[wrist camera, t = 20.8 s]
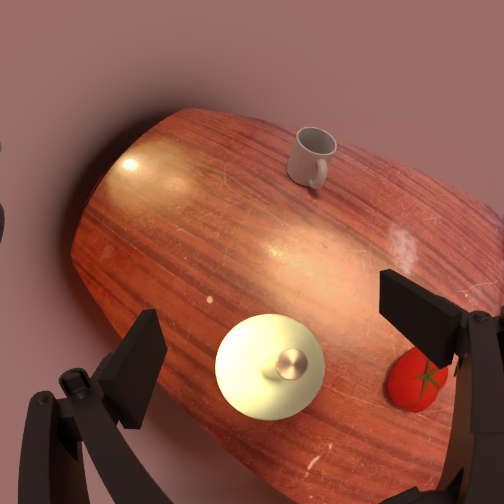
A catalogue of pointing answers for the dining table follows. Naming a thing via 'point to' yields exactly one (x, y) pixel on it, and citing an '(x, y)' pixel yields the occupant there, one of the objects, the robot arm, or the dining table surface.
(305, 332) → the lid
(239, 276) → the dining table surface
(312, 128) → the cup
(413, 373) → the tomato
